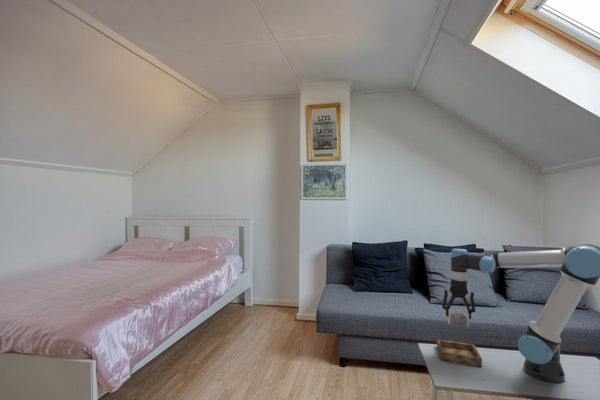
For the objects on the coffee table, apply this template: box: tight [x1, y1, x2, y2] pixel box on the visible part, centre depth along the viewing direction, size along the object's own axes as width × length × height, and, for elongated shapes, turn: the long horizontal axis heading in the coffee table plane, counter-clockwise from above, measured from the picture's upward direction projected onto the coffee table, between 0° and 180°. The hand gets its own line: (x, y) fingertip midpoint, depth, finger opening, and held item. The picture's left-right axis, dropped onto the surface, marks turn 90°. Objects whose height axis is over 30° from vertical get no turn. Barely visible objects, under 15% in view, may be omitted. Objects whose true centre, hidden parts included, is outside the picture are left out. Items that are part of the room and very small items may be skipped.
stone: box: [450, 309, 467, 327], centre depth 162 cm, size 10×8×6 cm
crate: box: [436, 339, 483, 368], centre depth 161 cm, size 18×16×4 cm
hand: (458, 324), depth 161 cm, fingers closed on stone, 8 cm apart
